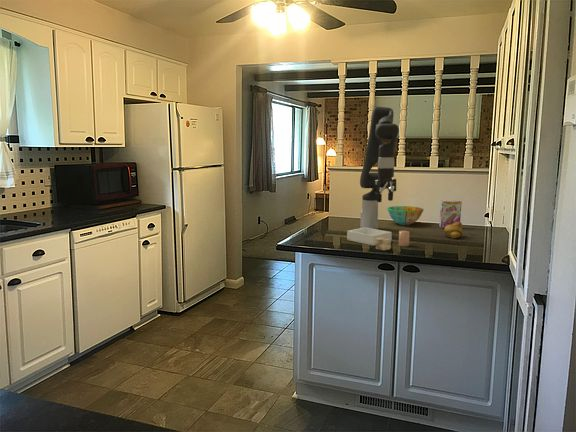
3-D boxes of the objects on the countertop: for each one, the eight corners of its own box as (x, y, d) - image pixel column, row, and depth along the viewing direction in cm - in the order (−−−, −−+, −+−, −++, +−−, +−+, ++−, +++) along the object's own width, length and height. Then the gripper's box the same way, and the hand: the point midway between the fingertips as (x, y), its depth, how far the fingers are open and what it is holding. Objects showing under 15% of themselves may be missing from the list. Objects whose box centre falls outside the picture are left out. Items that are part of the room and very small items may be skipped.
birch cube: (375, 248, 222) (375, 238, 222) (382, 247, 226) (382, 237, 225) (383, 250, 219) (384, 240, 218) (390, 249, 222) (390, 238, 221)
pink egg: (396, 245, 230) (397, 231, 229) (402, 243, 233) (403, 230, 232) (405, 246, 226) (405, 232, 225) (410, 245, 229) (411, 231, 228)
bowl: (388, 220, 302) (389, 205, 300) (424, 222, 295) (424, 206, 293) (384, 226, 281) (384, 210, 280) (421, 228, 274) (422, 211, 272)
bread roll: (462, 240, 242) (463, 225, 240) (443, 239, 245) (444, 224, 243) (461, 235, 254) (462, 221, 252) (443, 234, 257) (444, 220, 255)
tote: (347, 240, 242) (347, 230, 241) (365, 236, 251) (365, 227, 250) (373, 245, 229) (373, 235, 228) (391, 241, 238) (391, 232, 237)
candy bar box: (440, 228, 274) (442, 201, 271) (439, 226, 279) (440, 200, 276) (460, 228, 273) (461, 201, 270) (458, 227, 277) (459, 200, 275)
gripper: (388, 166, 223) (387, 199, 226) (369, 167, 214) (368, 201, 217) (401, 166, 218) (400, 200, 220) (382, 167, 208) (381, 203, 211)
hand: (384, 201), depth 218 cm, fingers open, 8 cm apart
